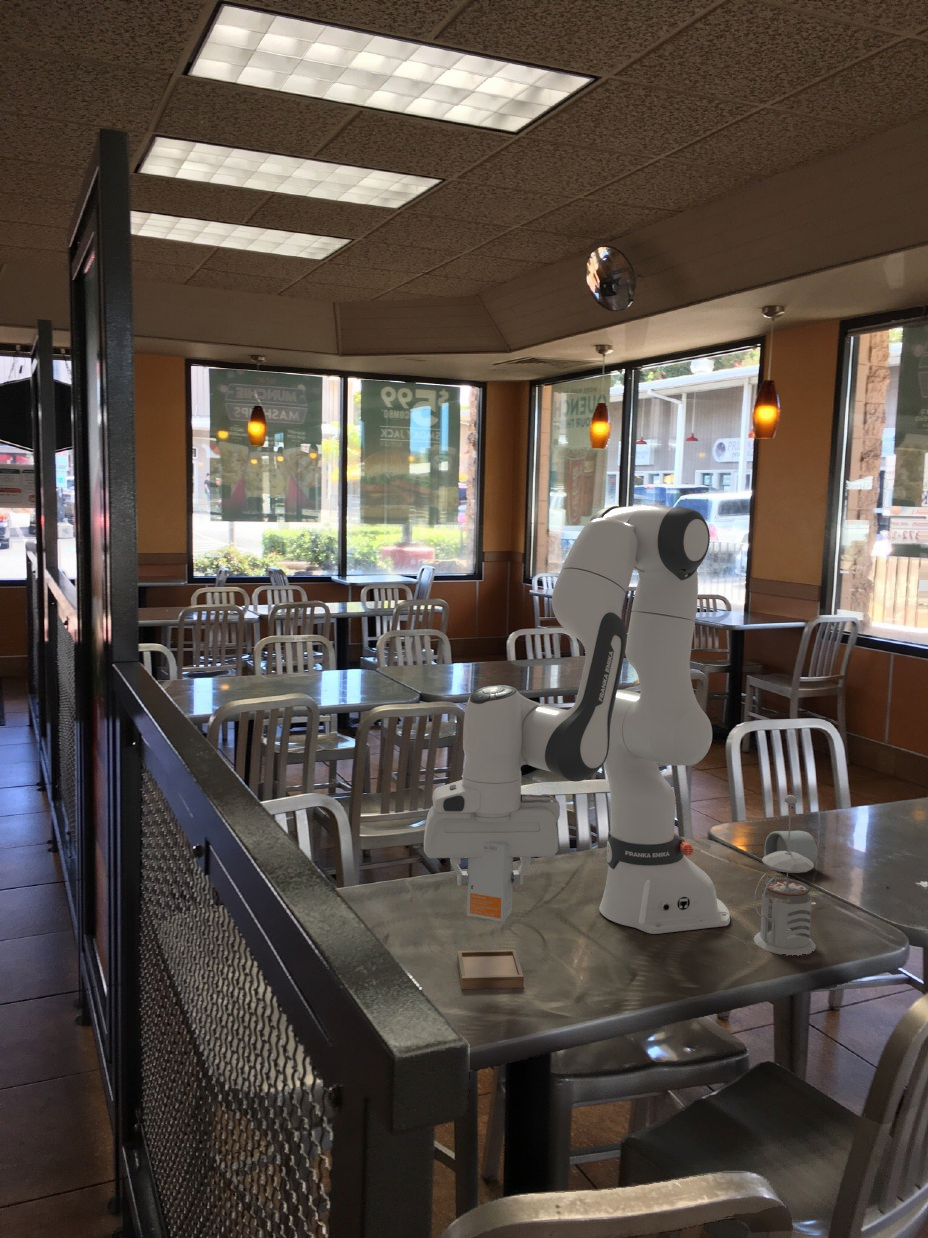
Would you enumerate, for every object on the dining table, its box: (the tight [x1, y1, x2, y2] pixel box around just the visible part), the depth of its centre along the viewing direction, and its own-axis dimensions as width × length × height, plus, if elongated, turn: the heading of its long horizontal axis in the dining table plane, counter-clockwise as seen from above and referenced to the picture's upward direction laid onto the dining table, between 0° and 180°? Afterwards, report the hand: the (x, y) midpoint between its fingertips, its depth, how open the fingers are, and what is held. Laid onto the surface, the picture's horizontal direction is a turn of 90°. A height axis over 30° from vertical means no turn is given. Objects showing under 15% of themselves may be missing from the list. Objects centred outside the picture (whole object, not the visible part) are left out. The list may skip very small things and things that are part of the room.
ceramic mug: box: [763, 830, 819, 865], centre depth 201 cm, size 11×8×8 cm
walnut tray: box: [457, 949, 525, 990], centre depth 152 cm, size 9×9×2 cm
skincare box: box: [466, 842, 514, 923], centre depth 150 cm, size 6×4×12 cm
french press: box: [753, 794, 816, 957], centre depth 163 cm, size 10×12×25 cm
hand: (490, 884), depth 151 cm, fingers closed on skincare box, 7 cm apart
